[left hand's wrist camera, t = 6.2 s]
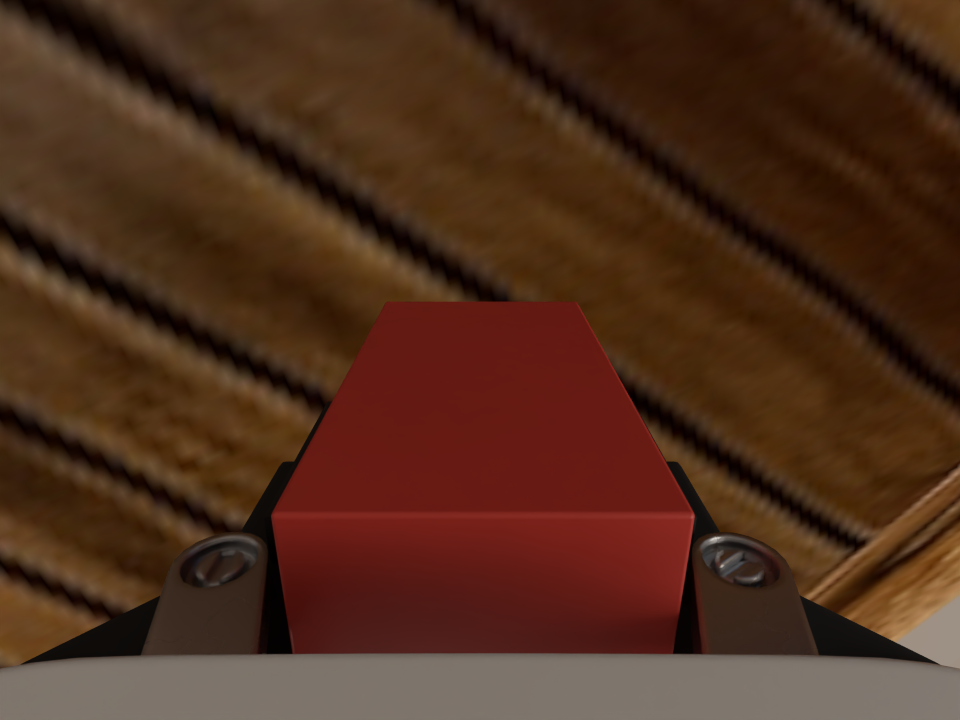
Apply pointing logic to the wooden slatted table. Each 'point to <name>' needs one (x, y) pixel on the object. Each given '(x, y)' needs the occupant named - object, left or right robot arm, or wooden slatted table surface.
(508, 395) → the brick
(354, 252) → the wooden slatted table surface
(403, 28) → the wooden slatted table surface
